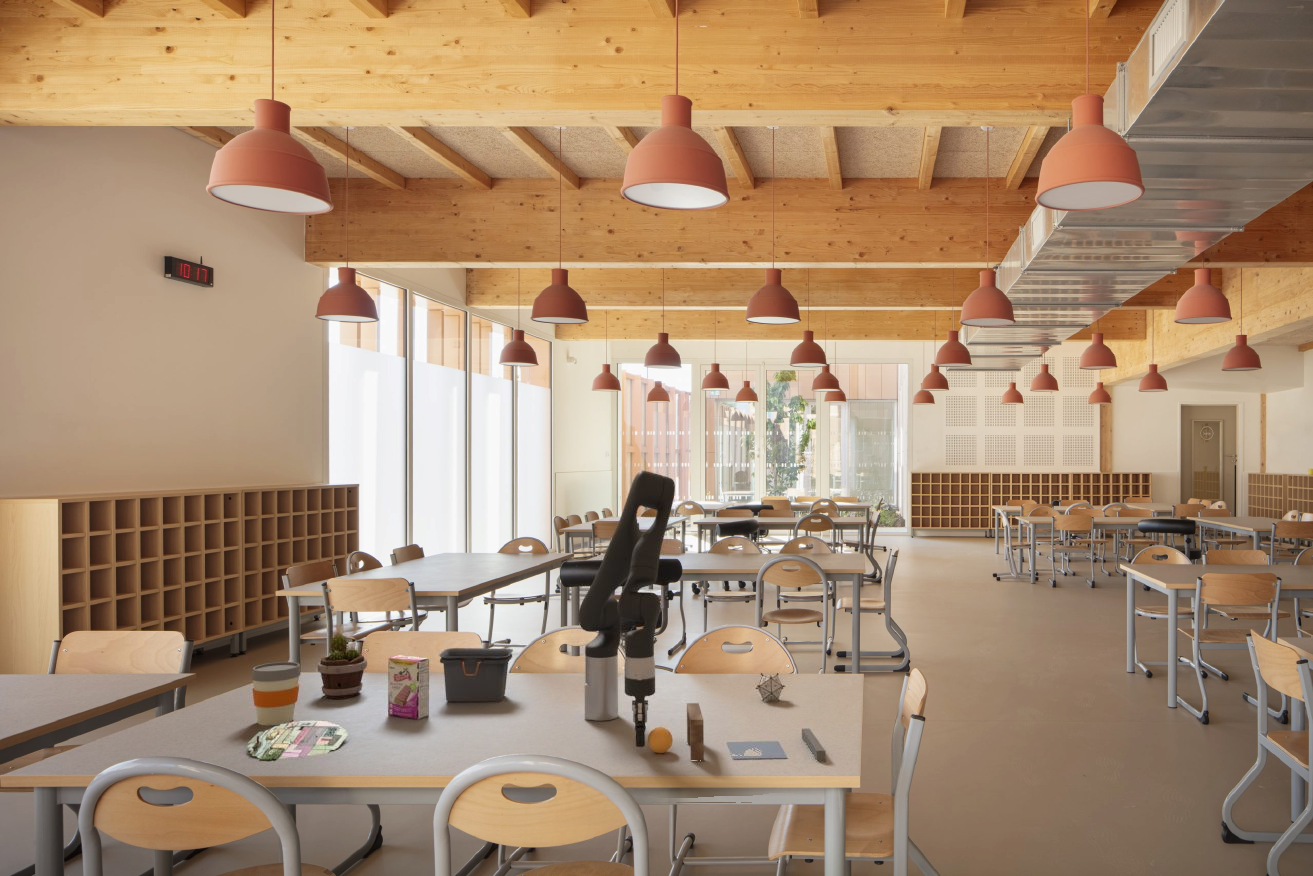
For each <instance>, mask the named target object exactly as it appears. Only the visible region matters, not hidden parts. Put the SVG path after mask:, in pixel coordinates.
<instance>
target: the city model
mask: <svg viewBox="0 0 1313 876" xmlns="http://www.w3.org/2000/svg"><path fill="white" fill-rule="evenodd" d="M347 731H348V730H347V729H345V728H343V727H341V725H338V723H336V724H334V723H333V722H332V723H331V722H330V721H324V720H299V721H291V722H288V723H284V724H279V725H274V726H273V727H271V728H269V729H265V730H263V731H258V732H257V733H256V734H255V735H254V736H253V737H252V738H251V739H250V740H249V741H248V742H247V743H248V745H247V748H248V751H250V752H249V754H251V755H250V756H252V757H256V758H257V759H258V761H269V760H270V761H271V760H275V761H277V760H278V759H280V760H281V759H289V758H290V759H291V758H302V757H310V756H318V755H320V756H321V755H327V754H329V752H331V751H335V750H336V749H339V747H340V746H341V745H342V743H343V742H344V740H346V738H347V736H348V735H349V733H348V732H347Z"/></svg>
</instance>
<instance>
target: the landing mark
mask: <svg viewBox="0 0 1313 876" xmlns="http://www.w3.org/2000/svg"><path fill="white" fill-rule="evenodd" d="M726 744H727V747H728V750H729V749H730V750H729V752H731V753H732V754H735V755H738V756H731V758H732V760H733V759H735V760H783V758H785V759H784V760H786V758H787V759H788V756H787V755H786V753H785V750H784V749H783V747H782V745H781V743H780V742H779V740H777V741H776V740H770V741H768V740H765V741H763V740H762V741H758V740H757V741H726ZM752 748H753V749H754V750H753V751H755V750H757V749H759V750H761V751H762V752H761V751H759V750H757V751H759V752H761V753H762V755H761V756H744V753H745V751H746V750H748V749H751V750H752ZM755 748H757V749H755ZM755 752H756V751H755ZM731 753H730V755H732V754H731ZM757 753H758V752H757ZM739 754H740V755H742V756H740V755H739ZM759 754H760V753H759ZM781 758H782V759H781Z"/></svg>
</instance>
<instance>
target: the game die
mask: <svg viewBox="0 0 1313 876" xmlns="http://www.w3.org/2000/svg"><path fill="white" fill-rule="evenodd" d="M760 675H761V678H760V681H759V684H758V685H756V687H755V689H756V690H758V693H760V696H761V698H762V699H761V702H762V701H763V702H764V700H770V701H771V700H777V702H779V701H780V696H781V694H782V690H783V689H784V688H785V687H786V685H785V684H784V685H783V684H782V681H781V680H780V678H779V672H777V673H776V674H763V672H760ZM780 702H781V701H780Z"/></svg>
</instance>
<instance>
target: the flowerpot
mask: <svg viewBox="0 0 1313 876" xmlns="http://www.w3.org/2000/svg"><path fill="white" fill-rule="evenodd" d="M331 636H332V637H331V638H330V644H329V649H330V653H329V654H330V655H328V656H324V657H321V659H320V661H319V662H318V663H317V667H316V668H317V672H319V673H320V677H321V680H322V684H323V685H321V691H322V693H323V695H324V696H325V698H326V699H334V700H341V699H343V700H344V699H347V698H352V697H354V696H358V695H359V694H360V692H361V691H362V688H363V682H362V679H363V676H364V670H365V669H366V668H368V667H367V666H368V660H367V659H366V658H365V656H363V655H362V654H361V653H360V651H358V649H357V648H355V647H354V646H352V645H350V646H349V640H348V636H347V635H343V632H342V631H336V633H335V632H333V635H331Z"/></svg>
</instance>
